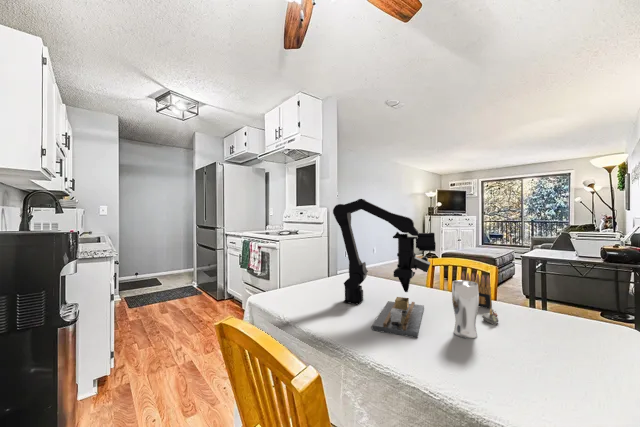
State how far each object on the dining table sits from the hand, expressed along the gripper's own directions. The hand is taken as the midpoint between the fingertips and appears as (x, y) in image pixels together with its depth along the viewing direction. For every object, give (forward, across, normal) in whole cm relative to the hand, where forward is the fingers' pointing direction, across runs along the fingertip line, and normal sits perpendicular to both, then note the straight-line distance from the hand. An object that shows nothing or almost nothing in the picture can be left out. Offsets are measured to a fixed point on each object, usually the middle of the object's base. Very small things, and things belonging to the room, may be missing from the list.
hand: (406, 291), depth 106 cm
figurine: (+6, -4, -27) cm, 28 cm away
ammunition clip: (+6, +12, -24) cm, 27 cm away
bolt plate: (+6, -13, 0) cm, 14 cm away
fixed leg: (+4, -22, 0) cm, 22 cm away
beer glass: (+6, -18, -19) cm, 26 cm away
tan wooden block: (+3, -10, 0) cm, 10 cm away
